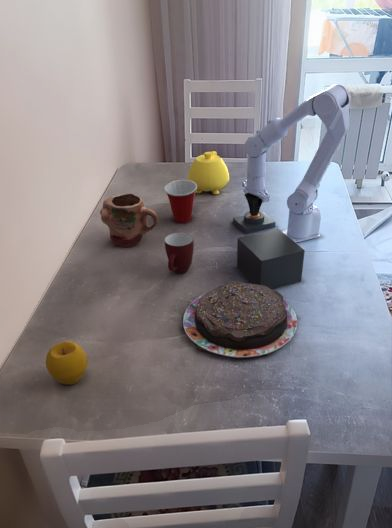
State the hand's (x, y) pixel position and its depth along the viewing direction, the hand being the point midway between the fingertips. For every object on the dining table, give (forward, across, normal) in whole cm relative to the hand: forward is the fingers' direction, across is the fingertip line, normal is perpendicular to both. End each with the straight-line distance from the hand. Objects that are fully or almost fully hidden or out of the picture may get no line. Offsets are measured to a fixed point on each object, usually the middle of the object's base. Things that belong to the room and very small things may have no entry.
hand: (254, 214), depth 158 cm
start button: (+2, 0, 0) cm, 2 cm away
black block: (+3, +29, -11) cm, 31 cm away
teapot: (+4, -36, 0) cm, 36 cm away
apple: (+4, +47, -70) cm, 84 cm away
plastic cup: (+4, -14, -20) cm, 25 cm away
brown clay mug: (+4, -7, -40) cm, 41 cm away
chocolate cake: (+4, +45, -28) cm, 53 cm away
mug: (+4, +17, -33) cm, 37 cm away
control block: (+3, 0, 0) cm, 3 cm away
